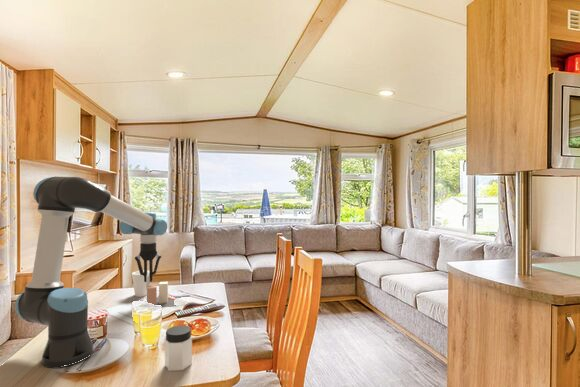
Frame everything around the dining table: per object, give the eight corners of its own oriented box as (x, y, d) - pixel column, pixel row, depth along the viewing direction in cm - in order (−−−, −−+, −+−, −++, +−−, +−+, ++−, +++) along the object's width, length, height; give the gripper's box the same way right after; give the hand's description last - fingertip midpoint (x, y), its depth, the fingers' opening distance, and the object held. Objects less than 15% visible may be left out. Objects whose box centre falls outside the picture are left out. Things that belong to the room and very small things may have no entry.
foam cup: (128, 296, 184) (128, 272, 184) (144, 292, 192) (144, 269, 191) (137, 299, 179) (137, 275, 178) (153, 295, 186) (153, 272, 186)
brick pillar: (156, 307, 166) (156, 287, 166) (147, 308, 164) (147, 288, 164) (155, 304, 170) (155, 285, 170) (146, 306, 168) (146, 286, 168)
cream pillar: (167, 302, 173) (167, 283, 173) (158, 303, 172) (159, 284, 171) (167, 300, 177) (167, 281, 176) (159, 300, 176) (159, 282, 175)
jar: (194, 358, 119) (194, 324, 119) (189, 370, 111) (189, 334, 111) (168, 359, 118) (168, 325, 118) (161, 371, 110) (161, 335, 110)
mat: (189, 306, 170) (189, 305, 170) (142, 310, 164) (142, 308, 164) (189, 296, 185) (189, 295, 185) (147, 299, 180) (147, 298, 179)
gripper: (162, 240, 177) (162, 285, 177) (135, 241, 173) (135, 286, 174) (161, 243, 170) (161, 289, 170) (133, 244, 166) (133, 291, 167)
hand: (148, 287), depth 172 cm, fingers closed
